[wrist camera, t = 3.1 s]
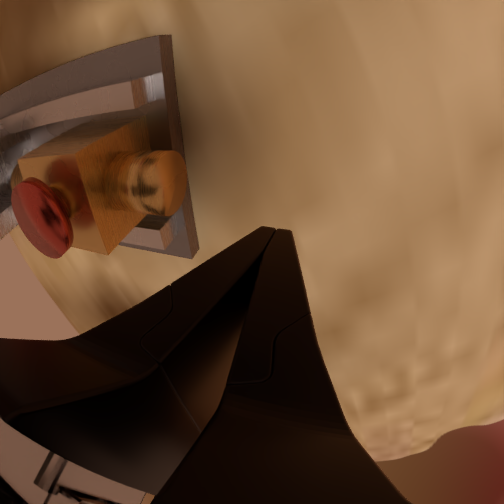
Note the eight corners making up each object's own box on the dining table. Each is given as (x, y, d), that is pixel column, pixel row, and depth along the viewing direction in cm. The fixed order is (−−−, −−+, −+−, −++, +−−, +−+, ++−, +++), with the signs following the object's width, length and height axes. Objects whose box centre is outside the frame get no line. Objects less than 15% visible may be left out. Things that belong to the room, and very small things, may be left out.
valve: (191, 112, 12) (93, 170, 7) (202, 204, 15) (134, 290, 10) (43, 130, 14) (-31, 177, 10) (61, 192, 17) (-1, 246, 13)
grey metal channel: (171, 34, 10) (68, 48, 6) (199, 248, 18) (148, 325, 13) (-17, 106, 16) (-68, 136, 11) (18, 216, 23) (-22, 253, 19)
